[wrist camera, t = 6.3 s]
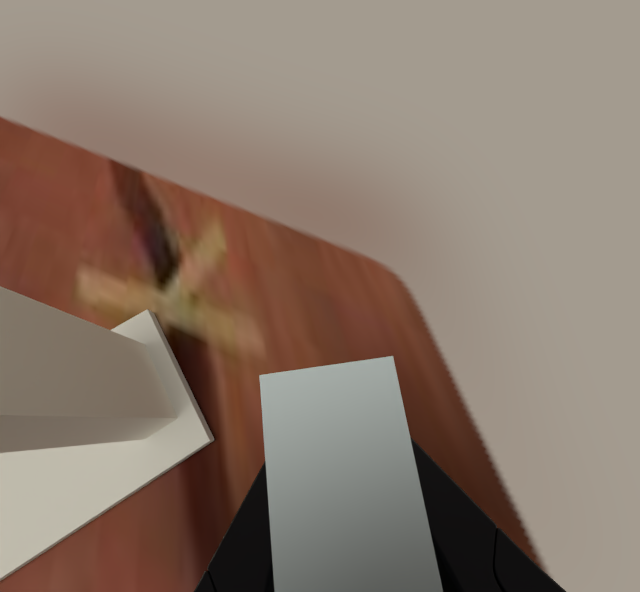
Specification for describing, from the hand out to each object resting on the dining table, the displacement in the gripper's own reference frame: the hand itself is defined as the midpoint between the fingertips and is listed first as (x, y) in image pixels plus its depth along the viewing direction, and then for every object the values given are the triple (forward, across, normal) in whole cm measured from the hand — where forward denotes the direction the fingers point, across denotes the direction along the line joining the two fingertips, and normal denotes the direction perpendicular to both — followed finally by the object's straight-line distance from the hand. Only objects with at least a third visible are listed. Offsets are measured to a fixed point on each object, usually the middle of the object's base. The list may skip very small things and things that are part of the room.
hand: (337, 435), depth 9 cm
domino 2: (+4, 0, +6) cm, 7 cm away
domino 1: (+10, +11, +5) cm, 15 cm away
